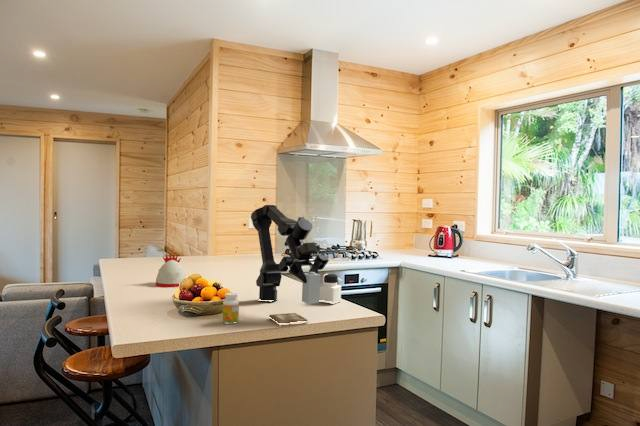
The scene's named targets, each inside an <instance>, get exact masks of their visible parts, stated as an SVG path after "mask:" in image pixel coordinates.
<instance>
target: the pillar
mask: <svg viewBox="0 0 640 426" xmlns="http://www.w3.org/2000/svg"><path fill="white" fill-rule="evenodd" d="M304 275H305V277H306V280H307V282H306V283H304V282H302V286H301V287H302V288H301V302H303V303H304V304H305V303H306V304H307V305H312V304H320V303H319V297H320V286H321V274H319V273H318V274H316V273H315V272H309V271H308V272H305V273H304Z"/></svg>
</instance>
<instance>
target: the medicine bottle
mask: <svg viewBox="0 0 640 426" xmlns="http://www.w3.org/2000/svg"><path fill="white" fill-rule="evenodd" d="M322 278H323V279H322V281H323V282H322V284H320V297H319V300H325V301H332V302H334V301H338V300H341V301H342V299H341V298H342V285H339V284H338V280H339V279H338V278H339V276H338V275H337V274H335V273H325V274H324V275H323V277H322Z"/></svg>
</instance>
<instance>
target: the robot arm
mask: <svg viewBox="0 0 640 426" xmlns="http://www.w3.org/2000/svg"><path fill="white" fill-rule="evenodd" d="M250 219H251V221H252V222H251V223H252V225H253V227H254V229H255V230H256V231H257V235H258V241H259V248H260V254H261V261H262V264H261V267H260V269H259V275H258V277H257V278H256V281H255V282H256V283H255V284H256V286H257V287H259V295H258V298H259V299H261V300H276V299H277V300H278V289H277V287H280V285H281V280H282V277H283V275H282V273H283V272H284V273H285V272H287V271H288V273H289V274H292V275H293V276H295V277H296V278H297V279H299V280H300V281H301V282H302V283H303V282H304V283H306V282H307V280H306V277H305V275H304V270H303V268H302V267H308V268H309V270H308V272H315V273H316V274H319V271H320V270H323V269H324V268H325V266H326V265H327V264H328V262H329V261H330V260H329V258H328V256H327V255H323V254H321V255H316V256H315V258H314V259H311V258H312V257H313V256H314V255H313V254H314V253H317V252H318V251H319V250H320V249H321V245H320V243H319V242H318V241H313V242H304V240H305V239H307V237H308V236H309V234H310V233H311V231H312V229H313V223H311V222H310V221H309V219H306V218H305V217H304V216H299V217H298V219H297V220H295V219H292V218H288V217H287V216H286V215H285V214H284V213H283V212H282V211H281V210H280V209H278V208H277V205H275V204H264V205H263V206H262V207H259V208H257V209H255V210H254V211H252V212H251V216H250ZM272 223H274V224H275V225H276V226H277V231H278V233H279V235H280V236H283V237H287V238H286V239H285V242H284V247H287V248H288V249H289V252H290V254H289V256H283V257H282V259H281V260H280V261H279V263H276V262H275V257H274V252H273V246H272V238H271V233H270V228H271V225H272ZM259 299H258V300H259ZM277 300H276V301H277Z"/></svg>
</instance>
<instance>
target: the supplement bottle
mask: <svg viewBox="0 0 640 426" xmlns="http://www.w3.org/2000/svg"><path fill="white" fill-rule="evenodd" d="M224 295H225V297H224V298H225V299H224V300H223V301H222V321H221V322H222V323H223V322H225V323H234V322H239V314H240V312H239V311H240V301H239V300H238V293H236V292H227V293H225V294H224ZM225 323H224V324H225Z"/></svg>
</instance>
